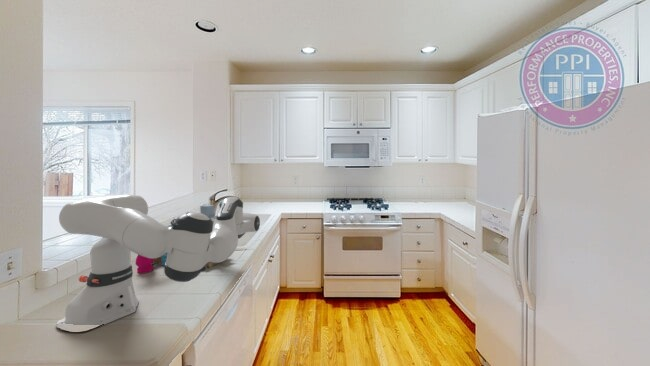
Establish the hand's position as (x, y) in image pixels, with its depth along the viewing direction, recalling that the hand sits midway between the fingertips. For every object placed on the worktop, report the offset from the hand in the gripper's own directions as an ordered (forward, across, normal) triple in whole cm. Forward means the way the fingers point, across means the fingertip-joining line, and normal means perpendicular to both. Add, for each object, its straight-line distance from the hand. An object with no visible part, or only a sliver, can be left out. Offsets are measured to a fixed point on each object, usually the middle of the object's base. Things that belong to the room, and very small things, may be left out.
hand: (206, 219), depth 153 cm
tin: (+25, -8, -22) cm, 34 cm away
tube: (+16, -10, -22) cm, 29 cm away
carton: (-1, -1, -21) cm, 21 cm away
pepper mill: (+19, -20, -22) cm, 35 cm away
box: (-1, 0, -9) cm, 9 cm away
